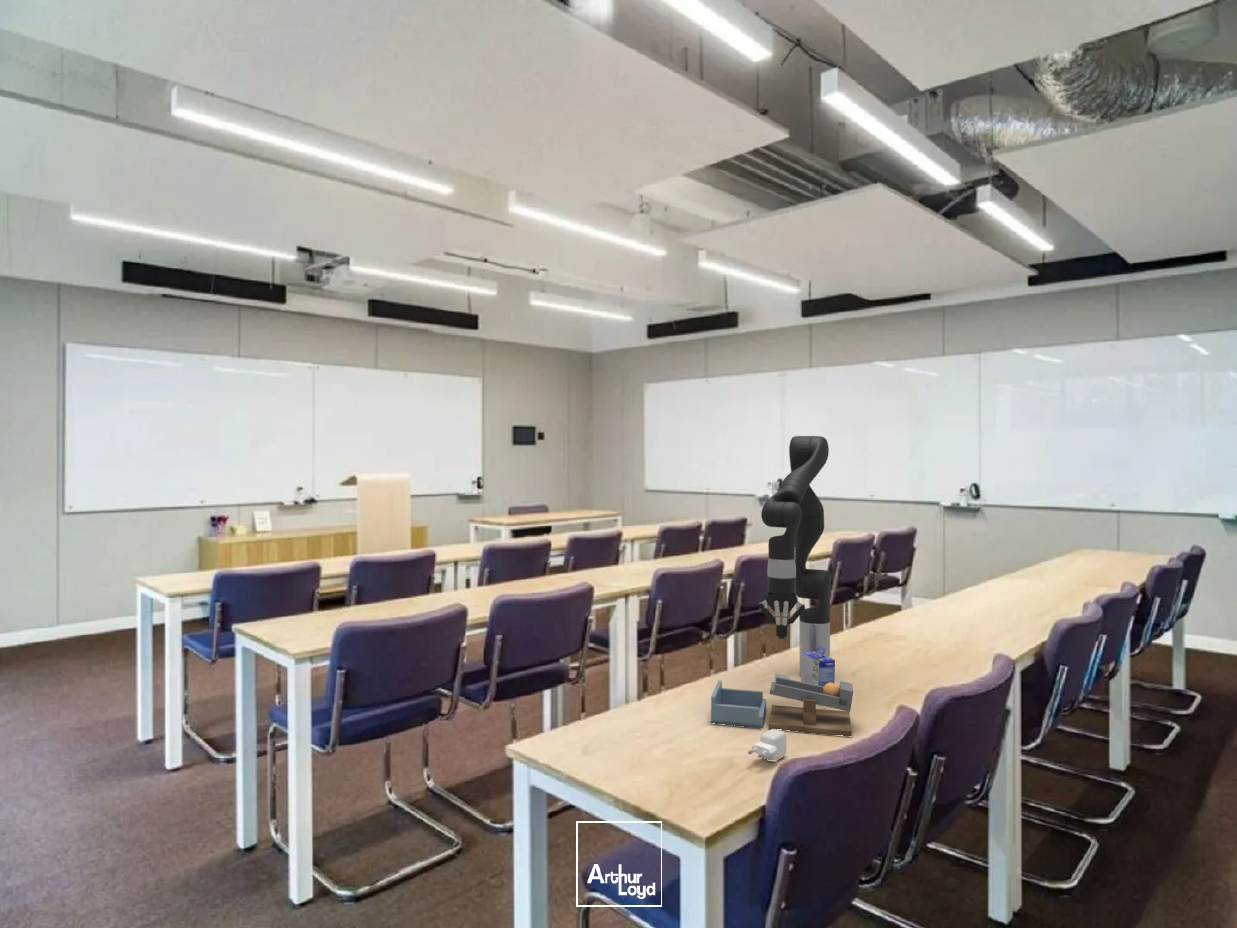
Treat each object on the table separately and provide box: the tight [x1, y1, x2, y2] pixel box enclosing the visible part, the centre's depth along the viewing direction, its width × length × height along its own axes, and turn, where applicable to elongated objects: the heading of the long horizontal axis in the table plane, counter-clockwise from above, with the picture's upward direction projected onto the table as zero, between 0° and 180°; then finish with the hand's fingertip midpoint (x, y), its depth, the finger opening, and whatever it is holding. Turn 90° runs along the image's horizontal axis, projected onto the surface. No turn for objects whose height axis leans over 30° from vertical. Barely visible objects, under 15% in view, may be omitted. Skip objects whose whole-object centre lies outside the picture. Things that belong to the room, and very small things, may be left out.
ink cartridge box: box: [800, 646, 836, 687], centre depth 204 cm, size 10×6×14 cm, turn 15°
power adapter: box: [747, 729, 787, 760], centre depth 163 cm, size 11×5×6 cm, turn 137°
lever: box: [769, 673, 854, 713], centre depth 189 cm, size 15×20×6 cm
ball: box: [823, 683, 839, 697], centre depth 184 cm, size 4×4×4 cm
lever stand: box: [768, 699, 853, 737], centre depth 186 cm, size 14×20×8 cm
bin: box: [710, 680, 767, 729], centre depth 191 cm, size 14×13×7 cm
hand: (781, 638), depth 196 cm, fingers closed
